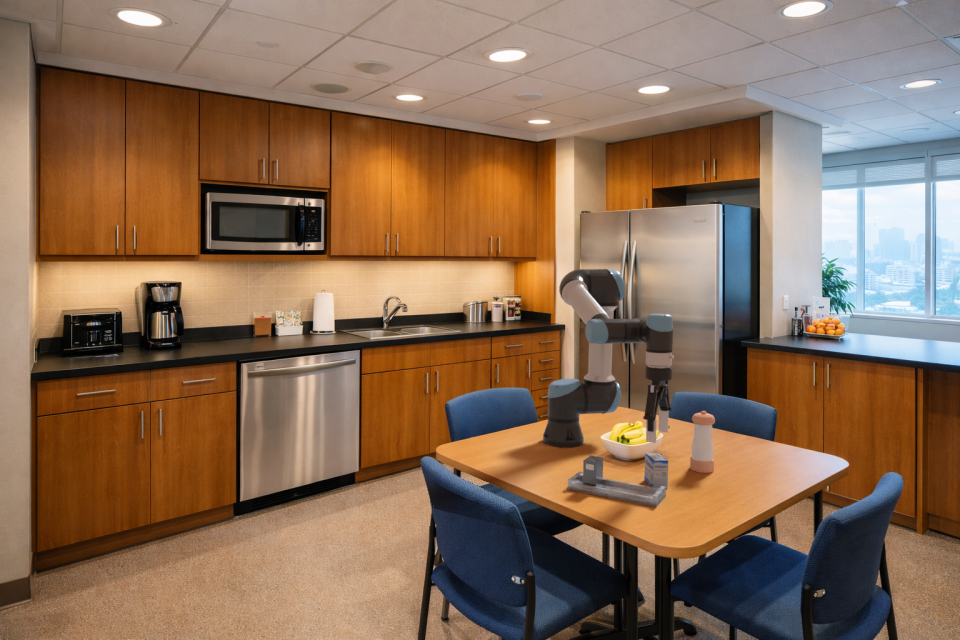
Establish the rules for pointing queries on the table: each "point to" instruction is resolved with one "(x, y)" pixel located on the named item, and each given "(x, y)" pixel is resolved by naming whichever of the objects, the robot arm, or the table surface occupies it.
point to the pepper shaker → (702, 443)
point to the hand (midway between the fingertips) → (657, 436)
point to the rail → (612, 485)
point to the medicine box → (656, 470)
